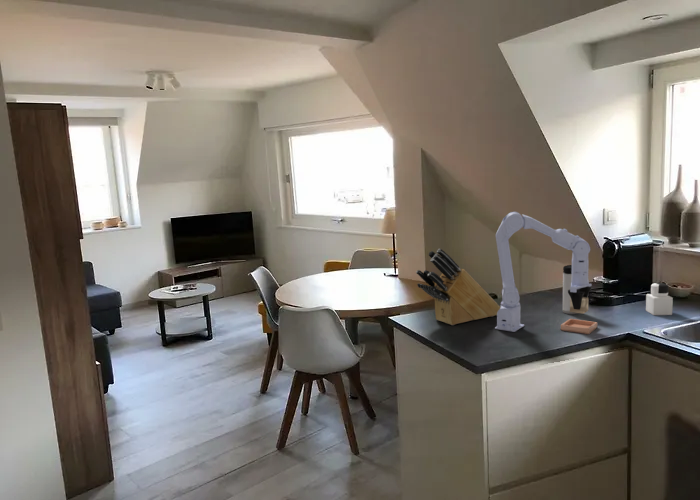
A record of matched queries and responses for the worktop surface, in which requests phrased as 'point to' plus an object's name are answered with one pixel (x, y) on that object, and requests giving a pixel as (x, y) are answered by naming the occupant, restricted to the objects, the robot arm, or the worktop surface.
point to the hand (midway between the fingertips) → (579, 307)
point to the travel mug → (567, 288)
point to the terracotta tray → (579, 326)
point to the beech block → (583, 306)
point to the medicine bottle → (659, 300)
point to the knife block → (456, 292)
